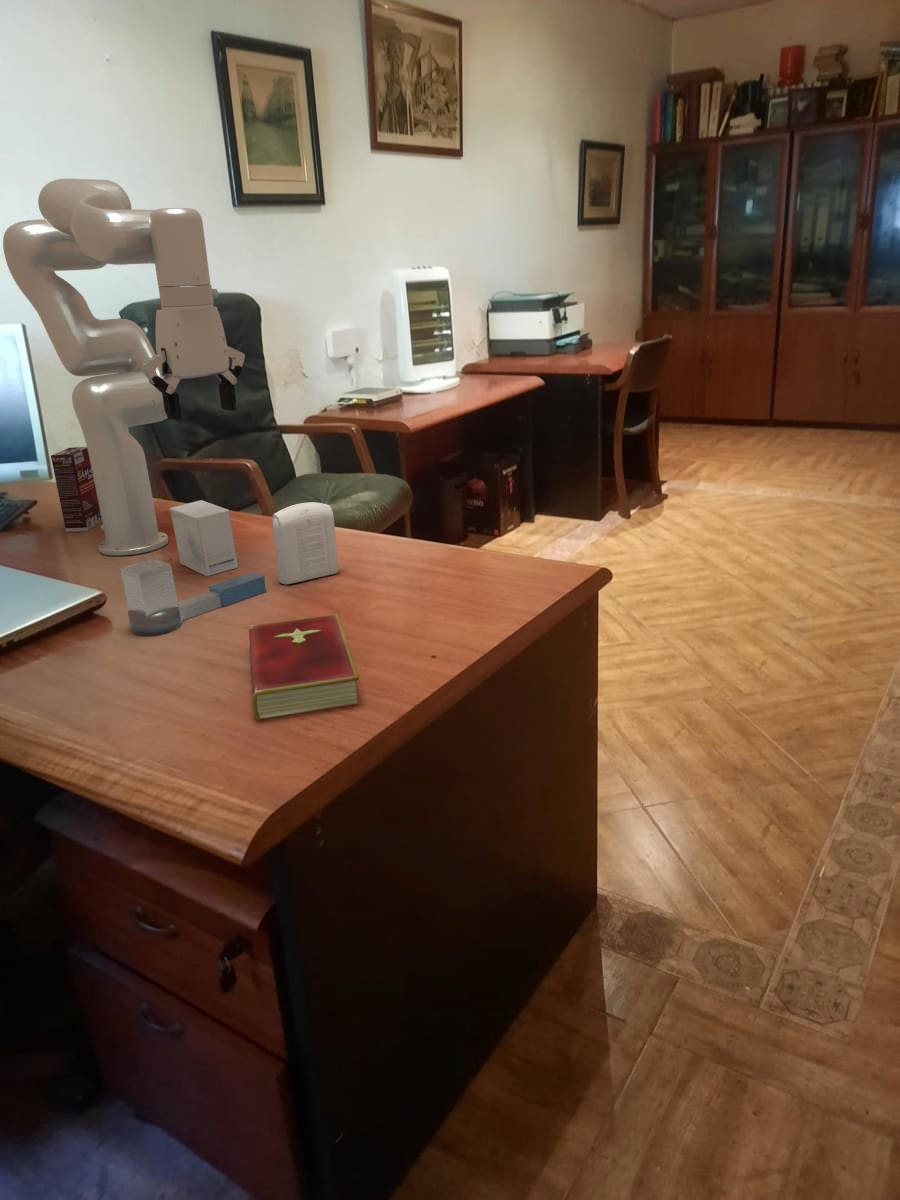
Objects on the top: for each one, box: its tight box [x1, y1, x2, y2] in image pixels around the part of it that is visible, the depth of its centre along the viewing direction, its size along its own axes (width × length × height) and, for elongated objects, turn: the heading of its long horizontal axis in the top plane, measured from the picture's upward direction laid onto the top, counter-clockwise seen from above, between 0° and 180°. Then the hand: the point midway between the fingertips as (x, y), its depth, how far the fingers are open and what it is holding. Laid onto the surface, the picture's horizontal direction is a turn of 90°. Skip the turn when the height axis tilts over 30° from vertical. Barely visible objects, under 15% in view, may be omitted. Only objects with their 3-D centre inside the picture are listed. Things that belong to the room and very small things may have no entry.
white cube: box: [119, 558, 178, 617], centre depth 126 cm, size 5×5×6 cm
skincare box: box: [169, 499, 239, 577], centre depth 152 cm, size 10×6×10 cm, turn 41°
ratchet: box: [127, 572, 267, 637], centre depth 132 cm, size 7×22×7 cm, turn 139°
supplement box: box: [50, 446, 102, 533], centre depth 181 cm, size 9×5×16 cm, turn 179°
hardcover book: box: [248, 613, 360, 722], centre depth 109 cm, size 12×21×4 cm, turn 13°
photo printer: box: [271, 501, 339, 585], centre depth 143 cm, size 10×4×12 cm, turn 123°
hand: (202, 414), depth 138 cm, fingers open, 9 cm apart
